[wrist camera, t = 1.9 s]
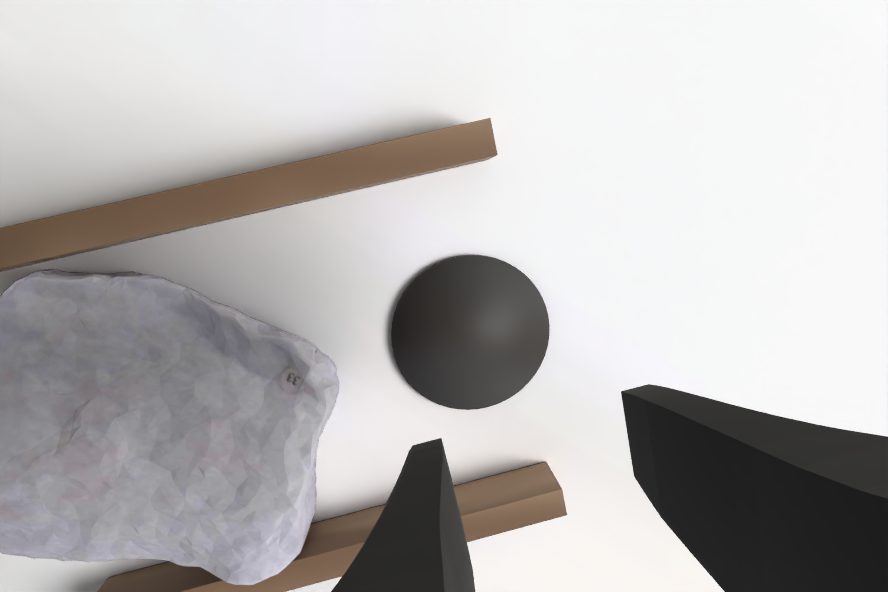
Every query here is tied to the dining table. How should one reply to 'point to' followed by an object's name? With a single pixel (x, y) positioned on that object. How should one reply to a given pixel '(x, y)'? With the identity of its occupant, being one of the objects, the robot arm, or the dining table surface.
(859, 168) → the dining table surface
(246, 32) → the dining table surface
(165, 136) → the dining table surface
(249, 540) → the stone block
